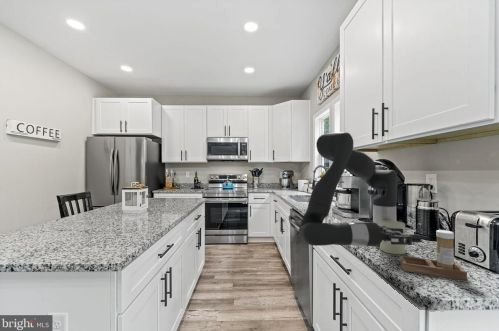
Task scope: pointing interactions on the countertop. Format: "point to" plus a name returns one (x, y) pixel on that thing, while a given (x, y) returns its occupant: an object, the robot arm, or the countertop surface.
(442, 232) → the sprinkles bottle
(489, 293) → the countertop surface
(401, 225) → the can
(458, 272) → the holder
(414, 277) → the countertop surface
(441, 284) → the countertop surface
